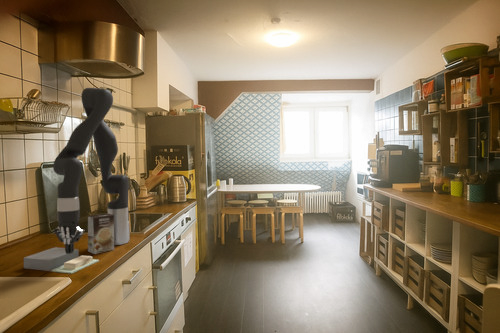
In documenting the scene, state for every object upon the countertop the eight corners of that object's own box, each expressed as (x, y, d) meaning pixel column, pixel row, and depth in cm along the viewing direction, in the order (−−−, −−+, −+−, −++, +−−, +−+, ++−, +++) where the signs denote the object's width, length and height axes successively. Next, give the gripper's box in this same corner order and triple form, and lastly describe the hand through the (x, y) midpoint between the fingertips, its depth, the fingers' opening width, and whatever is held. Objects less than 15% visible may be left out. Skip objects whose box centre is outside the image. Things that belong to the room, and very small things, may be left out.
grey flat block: (55, 256, 134) (55, 247, 134) (78, 259, 131) (78, 249, 131) (23, 268, 120) (23, 257, 120) (49, 271, 117) (49, 260, 117)
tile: (92, 256, 126) (92, 261, 126) (81, 255, 127) (82, 260, 127) (75, 263, 118) (75, 269, 118) (63, 262, 119) (64, 268, 119)
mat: (80, 259, 130) (80, 258, 130) (99, 261, 128) (99, 259, 128) (51, 271, 117) (51, 269, 117) (71, 273, 115) (71, 272, 115)
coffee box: (94, 254, 136) (93, 217, 136) (87, 251, 141) (86, 215, 140) (114, 249, 144) (114, 214, 143) (107, 247, 148) (107, 212, 147)
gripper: (90, 208, 124) (90, 251, 125) (62, 206, 128) (63, 249, 128) (74, 211, 117) (75, 257, 118) (46, 209, 121) (47, 254, 121)
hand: (69, 253), depth 123 cm, fingers closed
